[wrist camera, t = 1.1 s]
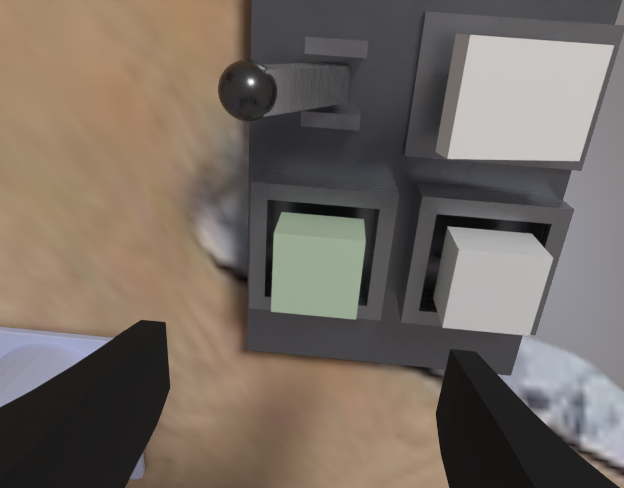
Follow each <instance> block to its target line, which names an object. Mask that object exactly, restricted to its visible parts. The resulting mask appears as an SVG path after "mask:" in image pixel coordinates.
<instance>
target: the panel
mask: <svg viewBox="0 0 624 488" xmlns="http://www.w3.org/2000/svg"><path fill="white" fill-rule="evenodd" d="M621 1H622V0H251V60H253V61H257V62H259V63H261V64H288V63H317V62H322V63H330V64H339V65H347V66H351V68H350V79H349V89H348V100H347V103H344V104H338V105H332V106H326V107H320V108H314V109H308V110H302V111H296V112H290V113H284V114H278V115H272V116H266V117H263V118H261V119H259V120H255V121H250V143H249V221H248V299H247V350H252V351H262V352H273V353H283V354H293V355H304V356H314V357H324V358H335V359H345V360H355V361H366V362H376V363H387V364H397V365H407V366H418V367H428V368H438V369H446V366H447V361H448V357H449V352H450V349H456V350H467V351H476V352H477V353H478V354H479V355H480V356H481V357H482V358H483V359H484V361H485V362H486V363H487V364H488V365H489V366H490V367H491V368H492V369H493V370H494V371H495V373H496V374H500V375H511V373H512V370H513V366H514V363H515V360H516V356H517V353H518V349H519V346H520V343H521V339H522V336H523V335H515V334H504V333H494V332H483V331H472V330H462V329H451V328H442V325H441V322H440V319H439V315H438V312H437V309H436V306H435V303H434V300H433V296H434V291H435V286H436V281H437V276H438V271H439V266H440V261H441V256H442V251H443V246H444V240H445V235H446V230H447V226H449V227H461V228H472V229H484V230H495V231H507V232H518V233H530V234H532V235H533V236H534V237H535V238H536V239H537V240H538V241H539V242H540V244H541V245H542V246H543V247H544V248H545V249H546V250H547V251H548V252H549V254H550V255H551V256H552V257H553V261H552V264H551V267H550V271H549V274H548V277H547V281H546V284H545V287H544V290H543V294H542V297H541V300H540V304H539V307H538V310H537V314H536V317H535V320H534V323H533V327H532V330H531V333H530V335H536V331H537V328H538V325H539V322H540V318H541V315H542V312H543V309H544V305H545V302H546V299H547V296H548V292H549V289H550V285H551V283H552V280H553V276H554V273H555V270H556V267H557V263H558V260H559V257H560V254H561V250H562V247H563V243H564V241H565V237H566V234H567V231H568V228H569V225H570V221H571V218H572V215H573V211H574V209H573V208H572V207H570V206H569V205H568V204H567V203H566V202H564V201H563V197H564V194H565V191H566V187H567V184H568V180H569V177H570V174H571V171H572V170H579V171H581V170H582V167H583V164H584V160H585V157H586V153H587V150H588V147H589V144H590V141H591V137H592V134H593V131H594V127H595V124H596V121H597V118H598V114H599V111H600V108H601V105H602V101H603V98H604V95H605V91H606V88H607V85H608V82H609V78H610V75H611V72H612V69H613V65H614V62H615V59H616V55H617V52H618V49H619V46H620V42H621V39H622V36H623V32H624V26H622V25H615V22H616V19H617V15H618V12H619V9H620V5H621ZM456 34H467V35H481V36H494V37H508V38H521V39H535V40H548V41H562V42H576V43H589V44H603V45H614V48H613V51H612V55H611V58H610V61H609V65H608V68H607V71H606V74H605V78H604V81H603V84H602V88H601V91H600V94H599V98H598V101H597V104H596V108H595V111H594V114H593V118H592V121H591V124H590V128H589V131H588V134H587V138H586V141H585V144H584V148H583V151H582V154H581V158H580V161H539V160H478V159H447V158H445V157H443V156H441V155H440V154H438V153H436V152H435V151H436V145H437V140H438V134H439V128H440V122H441V117H442V111H443V105H444V99H445V94H446V88H447V82H448V76H449V71H450V65H451V59H452V53H453V48H454V42H455V36H456ZM281 212H287V213H299V214H310V215H322V216H333V217H345V218H357V219H364V226H365V238H366V244H365V252H364V260H363V268H362V276H361V284H360V292H359V300H358V309H357V317H356V320H355V319H344V318H334V317H323V316H312V315H301V314H291V313H280V312H271V296H272V269H273V241H274V231H275V229H276V226H277V223H278V220H279V218H280V215H281Z"/></svg>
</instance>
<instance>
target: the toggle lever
mask: <svg viewBox="0 0 624 488" xmlns="http://www.w3.org/2000/svg"><path fill="white" fill-rule="evenodd" d="M350 68H351V66H347V65H339V64H330V63H322V62H317V63H288V64H261V63H259V62H257V61H253V60H240V61H237V62H234V63H233V64H231V65H230V66H228V67H227V68H226V69H225V70H224V72H223V73H222V75H221V77H220V80H219V85H218V94H219V98H220V101H221V103H222V105H223V107H224V108H225V110H226V111H227V112H228V113H229V114H230V115H232V116H233V117H235V118H237V119H239V120H243V121H255V120H259V119H261V118H263V117H266V116H272V115H278V114H284V113H290V112H296V111H302V110H308V109H314V108H320V107H326V106H332V105H338V104H344V103H347V100H348V89H349V79H350Z"/></svg>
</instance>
